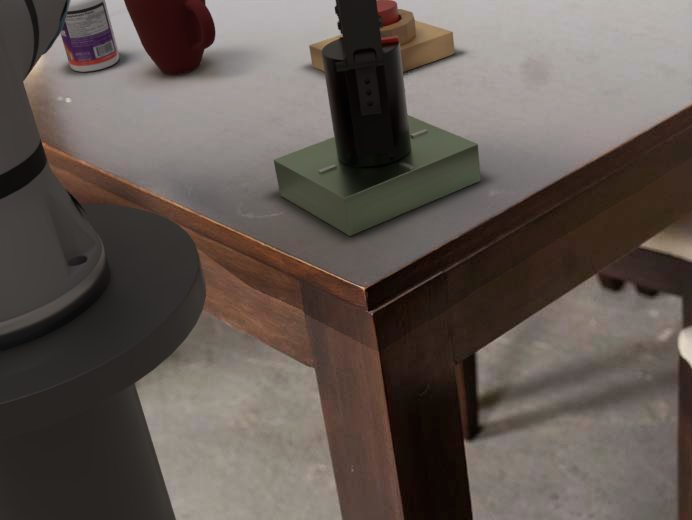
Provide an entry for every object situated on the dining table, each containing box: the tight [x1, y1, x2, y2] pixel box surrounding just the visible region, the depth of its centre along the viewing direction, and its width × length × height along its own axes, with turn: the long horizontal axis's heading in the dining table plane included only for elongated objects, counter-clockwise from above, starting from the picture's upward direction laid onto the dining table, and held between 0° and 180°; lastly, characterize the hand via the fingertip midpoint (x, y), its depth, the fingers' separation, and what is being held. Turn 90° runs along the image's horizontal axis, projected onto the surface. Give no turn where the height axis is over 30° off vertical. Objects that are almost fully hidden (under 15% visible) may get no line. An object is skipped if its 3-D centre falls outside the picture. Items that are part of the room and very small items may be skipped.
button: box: [376, 0, 399, 27], centre depth 106 cm, size 4×4×2 cm
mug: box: [123, 0, 216, 76], centre depth 111 cm, size 11×8×10 cm
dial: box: [322, 33, 411, 167], centre depth 81 cm, size 6×6×8 cm
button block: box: [308, 8, 456, 73], centre depth 108 cm, size 11×9×4 cm
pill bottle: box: [60, 0, 120, 73], centre depth 116 cm, size 5×5×10 cm
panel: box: [273, 114, 482, 237], centre depth 84 cm, size 12×10×3 cm
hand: (372, 135), depth 82 cm, fingers closed on dial, 6 cm apart
